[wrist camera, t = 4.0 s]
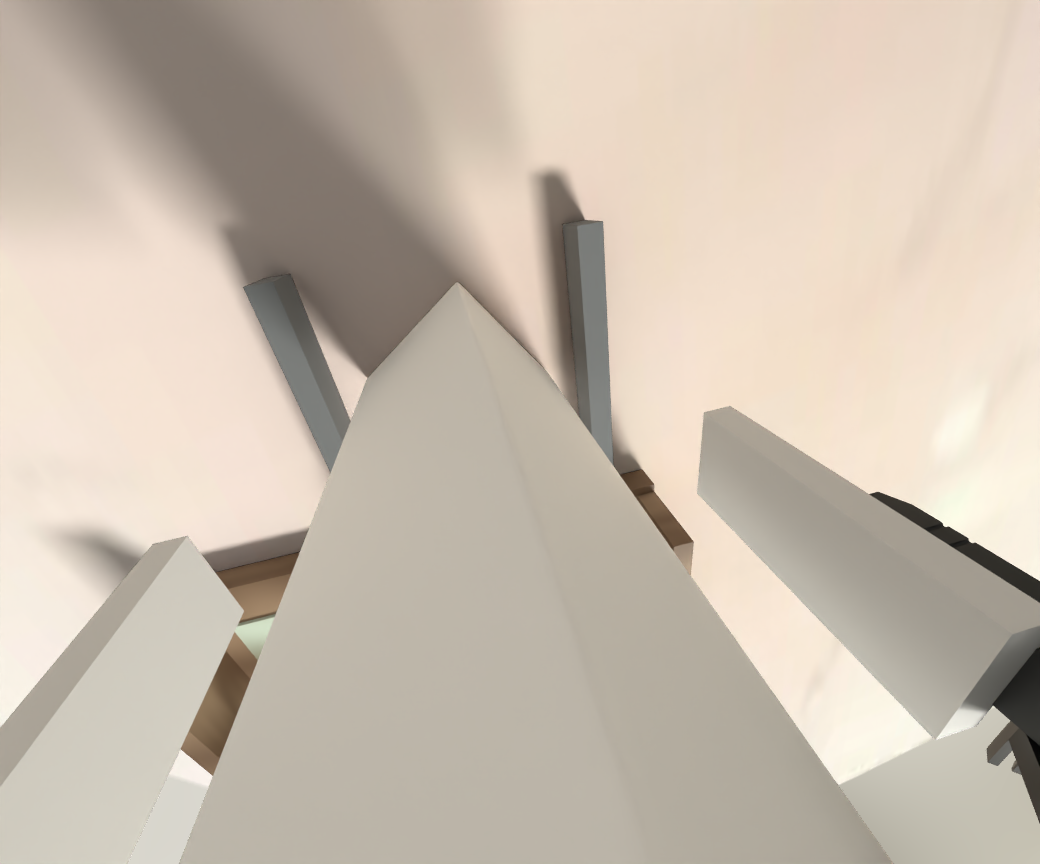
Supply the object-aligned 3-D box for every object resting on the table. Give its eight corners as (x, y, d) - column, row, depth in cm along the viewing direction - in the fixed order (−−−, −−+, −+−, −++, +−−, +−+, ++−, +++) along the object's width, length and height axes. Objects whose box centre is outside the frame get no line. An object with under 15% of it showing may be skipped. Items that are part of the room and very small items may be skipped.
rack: (177, 581, 22) (105, 686, 17) (642, 469, 24) (694, 534, 19) (290, 716, 29) (262, 817, 24) (642, 619, 31) (680, 693, 26)
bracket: (263, 278, 16) (242, 287, 14) (585, 220, 17) (602, 221, 15) (367, 512, 22) (361, 539, 20) (600, 458, 23) (613, 478, 21)
